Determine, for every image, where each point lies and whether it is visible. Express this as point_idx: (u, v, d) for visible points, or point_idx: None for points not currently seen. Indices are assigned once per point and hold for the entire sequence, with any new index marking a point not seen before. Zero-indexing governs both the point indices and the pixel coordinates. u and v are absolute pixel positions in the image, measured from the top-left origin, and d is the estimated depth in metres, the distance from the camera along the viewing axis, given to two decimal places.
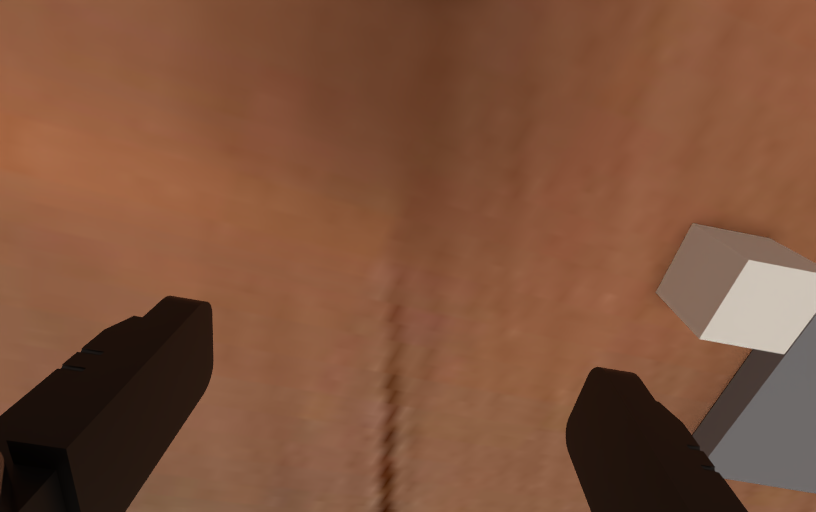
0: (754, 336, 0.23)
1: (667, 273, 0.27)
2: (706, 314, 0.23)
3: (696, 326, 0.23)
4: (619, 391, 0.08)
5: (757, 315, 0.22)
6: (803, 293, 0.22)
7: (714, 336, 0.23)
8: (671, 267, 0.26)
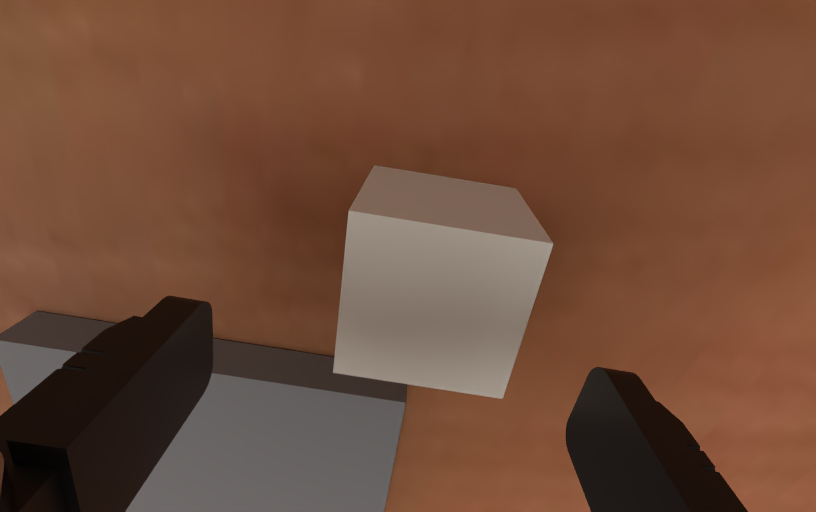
0: (367, 312, 0.11)
1: (418, 173, 0.14)
2: (405, 212, 0.10)
3: (368, 205, 0.11)
4: (619, 391, 0.08)
5: (419, 300, 0.11)
6: (471, 357, 0.12)
7: (358, 239, 0.10)
8: (431, 176, 0.14)
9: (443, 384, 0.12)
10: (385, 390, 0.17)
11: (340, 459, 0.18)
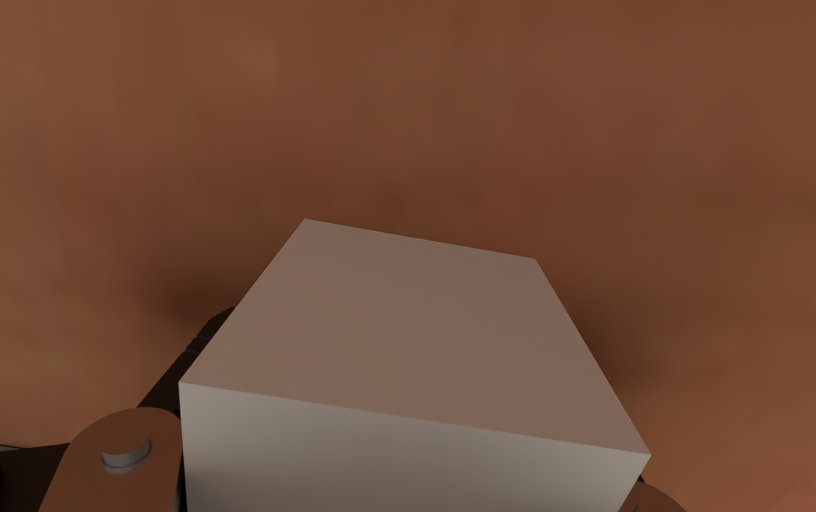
0: None
1: (376, 235, 0.09)
2: (320, 370, 0.05)
3: (241, 350, 0.05)
4: None
5: None
6: None
7: (209, 437, 0.05)
8: (398, 240, 0.09)
9: None
10: None
11: None
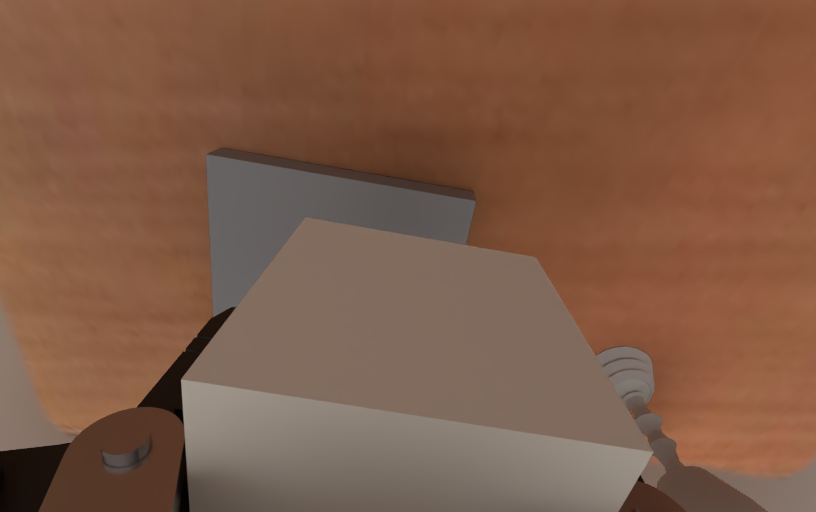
0: None
1: (376, 233, 0.09)
2: (323, 368, 0.05)
3: (243, 348, 0.05)
4: None
5: None
6: None
7: (212, 434, 0.05)
8: (399, 239, 0.09)
9: None
10: (461, 196, 0.25)
11: None
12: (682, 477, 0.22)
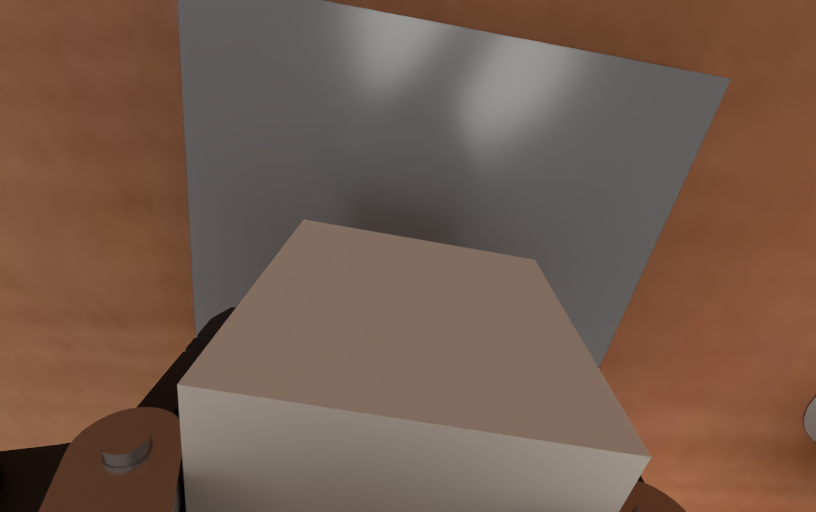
0: None
1: (375, 236, 0.09)
2: (320, 372, 0.05)
3: (240, 353, 0.05)
4: None
5: None
6: None
7: (208, 439, 0.05)
8: (397, 241, 0.09)
9: None
10: None
11: (609, 187, 0.14)
12: None
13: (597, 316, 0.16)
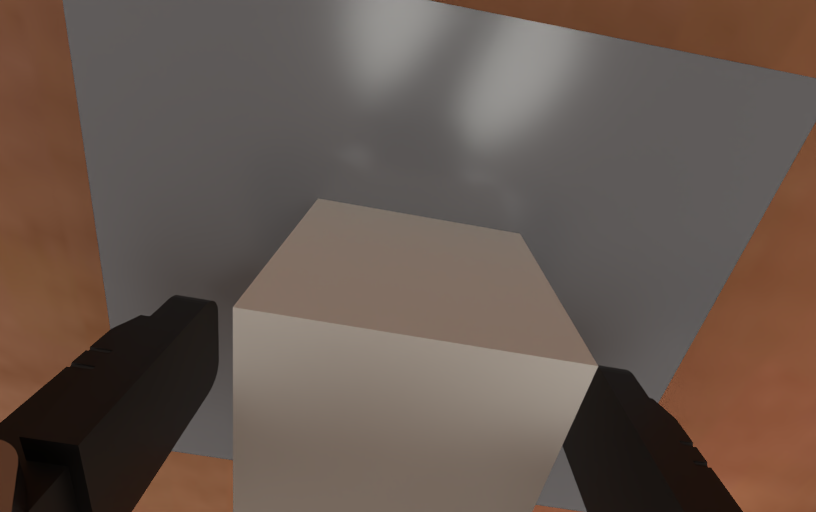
0: (280, 462, 0.07)
1: (380, 212, 0.10)
2: (340, 304, 0.06)
3: (277, 289, 0.06)
4: (613, 388, 0.08)
5: (366, 446, 0.06)
6: None
7: (254, 353, 0.06)
8: (399, 217, 0.10)
9: None
10: None
11: (659, 227, 0.10)
12: None
13: None
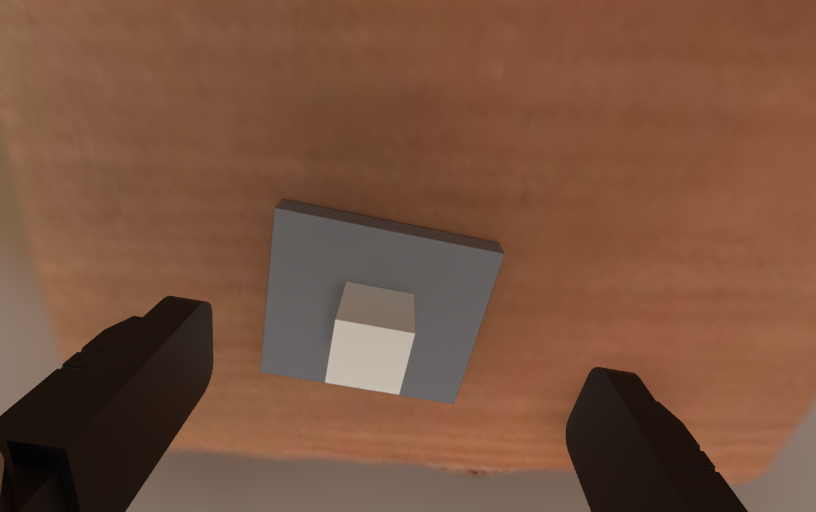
0: (341, 357, 0.27)
1: (367, 287, 0.30)
2: (357, 319, 0.26)
3: (343, 315, 0.26)
4: (619, 391, 0.08)
5: (363, 353, 0.27)
6: (384, 376, 0.27)
7: (338, 329, 0.26)
8: (373, 288, 0.30)
9: (373, 388, 0.28)
10: (491, 248, 0.30)
11: (459, 293, 0.30)
12: None
13: (460, 348, 0.33)
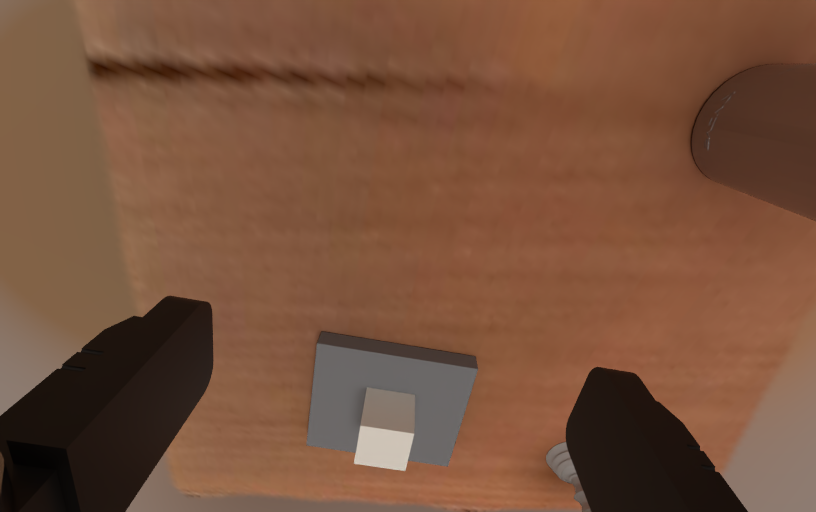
0: (364, 448, 0.39)
1: (381, 391, 0.42)
2: (375, 423, 0.39)
3: (365, 421, 0.39)
4: (619, 391, 0.08)
5: (379, 445, 0.39)
6: (394, 459, 0.40)
7: (362, 431, 0.38)
8: (386, 392, 0.42)
9: (387, 466, 0.40)
10: (469, 364, 0.42)
11: (447, 393, 0.43)
12: None
13: (450, 429, 0.45)
